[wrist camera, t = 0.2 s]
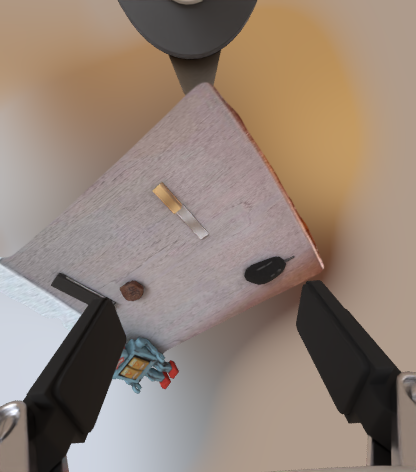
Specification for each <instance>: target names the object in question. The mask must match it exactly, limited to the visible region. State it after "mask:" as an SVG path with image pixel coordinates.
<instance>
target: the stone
mask: <svg viewBox="0 0 416 472" xmlns="http://www.w3.org/2000/svg"><path fill="white" fill-rule="evenodd" d="M143 290H144V287H143V286H142V285H141V284H139V283H138V282H136V281H131V282H127V283H126V284H125V285H123V286H122V287H120V291H121V293H122V295H123V296H124V297H125V299H126V300H128V301H134V300H137V299H139V298H140V297H141V296H142V295H143Z"/></svg>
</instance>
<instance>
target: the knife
mask: <svg viewBox="0 0 416 472" xmlns="http://www.w3.org/2000/svg"><path fill="white" fill-rule="evenodd" d="M153 192H154V193H155V194H156V195H157V196H158V197H159V198H160V199H161V201H162V202H163V203H164V204H165V205H166V206H167V207H168V208H169V209H170V210H171V211H172V212H173V213H174V214H175V213H177V214H178V215H179V216H180V218H181V219H182V220H183V221H184V222H185V223H186V224H187V225H188V226H189V227H190V228H191V229H192V230H193V232H194V233H195V234H196V235H197V236H198V237H199V238H200V239H202V238H204V237H205V236H207V235H208V234H209V233H208V232H207V231H206V230H205V229H204V227H203V226H202V225H201V224H200V223H199V222H198V221H197V220H196V218H195V217H194V216H193V215H192V214H191V213H190V212H189V211H188V210H187V208H186V207H185V206H184V205H182V204H181V203H180V202H179V201H178V200H177V198H176V197H175V196H174V195H173V194H172V193H171V192H170V191H169V189H168V188H167V187H166V186H165V185H164V184H163V183H162V182H161V183H160V184H159V185H158V186H157V187H156V188H155V189H154V190H153Z"/></svg>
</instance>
